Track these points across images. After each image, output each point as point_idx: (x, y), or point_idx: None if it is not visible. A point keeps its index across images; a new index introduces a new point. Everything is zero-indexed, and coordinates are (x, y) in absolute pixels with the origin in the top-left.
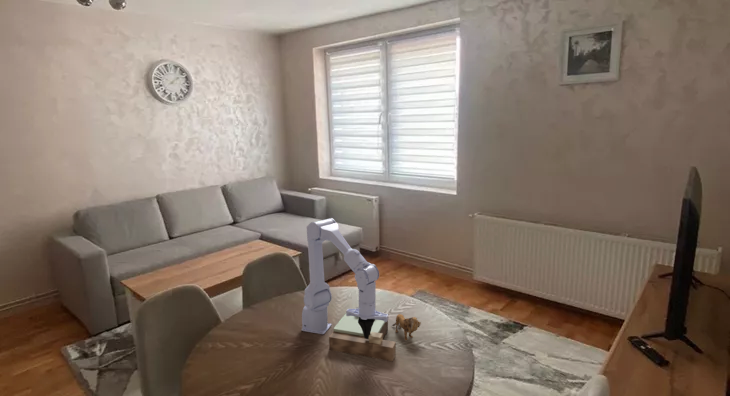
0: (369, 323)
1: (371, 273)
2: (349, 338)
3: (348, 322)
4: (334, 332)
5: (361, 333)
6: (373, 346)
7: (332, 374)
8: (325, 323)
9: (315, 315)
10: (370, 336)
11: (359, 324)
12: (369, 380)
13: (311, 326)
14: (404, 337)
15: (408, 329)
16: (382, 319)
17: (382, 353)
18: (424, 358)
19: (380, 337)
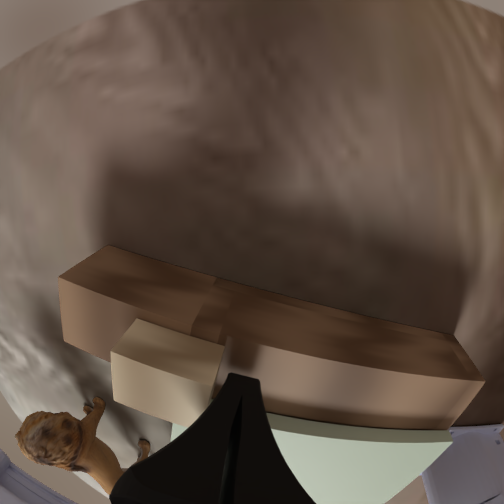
0: (145, 492)
1: None
2: (374, 389)
3: (358, 491)
4: (445, 423)
5: (286, 430)
6: (190, 314)
7: (444, 103)
8: (439, 469)
9: (490, 482)
10: (197, 379)
11: (304, 492)
12: (220, 45)
13: (484, 444)
14: (103, 409)
15: (60, 423)
16: (20, 480)
17: (143, 276)
18: (12, 272)
19: (112, 357)
